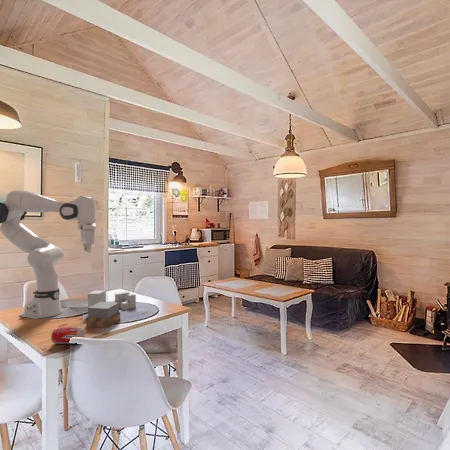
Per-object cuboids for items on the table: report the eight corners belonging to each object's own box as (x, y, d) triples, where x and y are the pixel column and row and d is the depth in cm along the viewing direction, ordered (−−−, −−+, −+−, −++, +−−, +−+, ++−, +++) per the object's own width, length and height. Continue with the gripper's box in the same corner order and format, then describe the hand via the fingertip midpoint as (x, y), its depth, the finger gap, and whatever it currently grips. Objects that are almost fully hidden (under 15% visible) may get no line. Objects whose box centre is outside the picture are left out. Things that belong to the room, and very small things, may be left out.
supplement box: (106, 312, 185) (106, 290, 184) (99, 316, 177) (99, 293, 177) (95, 311, 186) (94, 290, 185) (87, 315, 179) (87, 293, 178)
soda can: (82, 345, 140) (56, 345, 140) (86, 329, 144) (60, 329, 144) (76, 341, 134) (48, 341, 134) (80, 325, 138) (53, 325, 138)
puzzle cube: (108, 307, 194) (108, 294, 194) (127, 303, 202) (126, 291, 202) (117, 311, 185) (117, 298, 185) (136, 307, 194) (135, 294, 193)
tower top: (88, 317, 161) (87, 307, 161) (100, 310, 172) (100, 301, 171) (107, 318, 159) (107, 308, 159) (119, 311, 170) (118, 302, 169)
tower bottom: (86, 327, 160) (86, 317, 160) (100, 319, 172) (100, 310, 172) (107, 328, 158) (107, 319, 158) (120, 321, 170) (120, 311, 169)
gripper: (77, 225, 177) (78, 250, 177) (83, 226, 160) (83, 253, 160) (89, 225, 180) (90, 249, 181) (96, 226, 163) (96, 252, 163)
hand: (87, 251), depth 170 cm, fingers open, 8 cm apart
